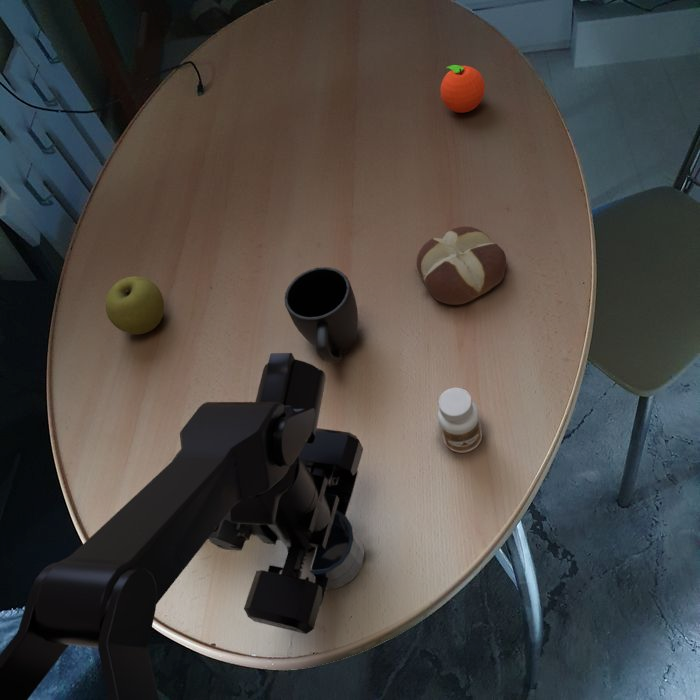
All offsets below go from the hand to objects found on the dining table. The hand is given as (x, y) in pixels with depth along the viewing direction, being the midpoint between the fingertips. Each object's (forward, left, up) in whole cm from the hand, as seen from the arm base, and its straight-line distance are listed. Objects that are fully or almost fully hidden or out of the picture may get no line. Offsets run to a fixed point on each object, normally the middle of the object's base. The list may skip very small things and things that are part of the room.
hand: (329, 552), depth 70 cm
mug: (+26, +7, -2) cm, 27 cm away
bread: (+40, -7, -2) cm, 41 cm away
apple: (+28, +37, -2) cm, 46 cm away
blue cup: (0, 0, -2) cm, 2 cm away
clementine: (+75, -1, -2) cm, 75 cm away
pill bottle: (+16, -11, -2) cm, 19 cm away
